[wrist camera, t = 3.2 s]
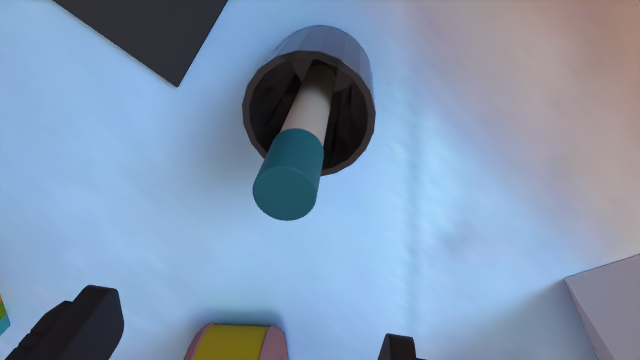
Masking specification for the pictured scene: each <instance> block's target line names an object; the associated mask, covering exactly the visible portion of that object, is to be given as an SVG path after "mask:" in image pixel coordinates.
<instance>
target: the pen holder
mask: <svg viewBox="0 0 640 360" xmlns="http://www.w3.org/2000/svg"><path fill="white" fill-rule="evenodd" d="M316 65H324V66H326V67H328V68H330V69H331V70H332V72H333V73H334V75H335V87H334V92H333V97H332V102H331V108H330V113H329V118H328V123H327V128H326V134H325V139H324V144H323V150H324V158H323V164H322V169H321V175H320V176H325V175H330V174H334V173H337V172H339V171H340V170H342V169H344V168H346V167H348V166H350V165H351V164H353V163H354V162H355V161H356V160H357V159H358V158H359V156H360V155H361V154H362V153H363V152H364V151H365V150H366V148H367V146H368V144H369V142H370V139H371V137H372V135H373V132H374V125H375V115H376V111H375V101H374V91H373V80H372V72H371V68H370V63H369V60H368V57H367V55H366V53H365V51H364V50H363V48H362V47H361V45H360V44H359V43H358V42H357V41H356V40H355V39H354V38H353V37H352V36H351V35H349V34H348V33H346V32H344V31H343V30H341V29H338V28H335V27H331V26H325V25H315V26H309V27H305V28H302V29H300V30H298V31H296V32H294V33H293V34H291V35H290V36H289V37H288V38H286V39H285V40H284V41H283V42H282V43H281V44H280V45H279V46H278V47H277V49H276V50H275V51H274V52H273V53H272V54H271V55H270V57H269V58H268V59H267V60H266V61H265V62H264V63H263V65H262V66H261V67H260V68H259V69H258V70H257V72H256V73H255V75H254V76H253V78H252V79H251V81H250V82H249V84H248V85H247V88H246V92H245V96H244V100H243V103H242V111H243V124H244V127H245V130H246V132H247V134H248V137H249V139H250V142H251V143H252V145H253V146H254V147H255V149H256V150H257V151H258V152H259V153H260V155H261V156H262V157H263V158H264V159H265V158H266V155H267V153H268V151H269V149H270V147H271V145H272V142H273V140H274V139H275V137H276V136H277V135H278V134H279V133H280V131H281V129H282V127H283V125H284V122H285V120H286V118H287V116H288V113H289V111H290V109H291V107H292V104H293V102H294V100H295V98H296V96H297V93H298V91H299V89H300V87H301V84H302V82H303V80H304V78H305V75H306V73H307V72H308V70H309V69H310V68H312V67H313V66H316Z"/></svg>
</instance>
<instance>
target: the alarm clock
mask: <svg viewBox="0 0 640 360" xmlns="http://www.w3.org/2000/svg"><path fill="white" fill-rule="evenodd" d="M184 360H288V354H287V346H286V339H285V335H284V332H283V331H282V330H281V329H280V328H279V327H277V326H275V325H271V326H270V327H260V326H239V325H218V324H217V323H214V322H211V323H209V324H207V325H206V326H205V327H203V328H202V329H201V330H200V331H199V332H198V333H197V334H196V335H195V337H194V339H193V341H192V342H191V344H190V346H189V348H188V350H187V353H186V355H185V357H184Z"/></svg>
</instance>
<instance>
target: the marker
mask: <svg viewBox="0 0 640 360" xmlns="http://www.w3.org/2000/svg"><path fill="white" fill-rule="evenodd" d="M334 87H335V75H334V73H333V72H332V70H331V69H330V68H328V67H326V66H324V65H316V66H313V67H312V68H310V69H309V70H308V72H307V73H306V75H305V78H304V80H303V82H302V84H301V87H300V89H299V91H298V93H297V96H296V98H295V100H294V102H293V104H292V107H291V109H290V111H289V113H288V116H287V118H286V120H285V122H284V125H283V127H282V129H281V131H280V133H279V134H278V135H277V136H276V137H275V139H274V140H273V142H272V145H271V147H270V149H269V151H268V153H267V155H266V158H265V160H264V162H263V164H262V166H261V168H260V171H259V173H258V175H257V177H256V179H255V181H254V184H253V196H254V200H255V202H256V204H257V205H258V207H259V208H260V209H261V210H262V211H263V212H264V213H266V214H267V215H269V216H270V217H273V218H275V219H279V220H285V221H290V220H296V219H299V218H302V217H304V216H305V215H307V214H308V213H309V212H310V211H311V210H312V208H313V207H314V205H315V202H316V197H317V192H318V186H319V180H320V175H321V169H322V164H323V158H324V150H323V144H324V139H325V134H326V128H327V123H328V118H329V113H330V108H331V102H332V97H333V92H334Z"/></svg>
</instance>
